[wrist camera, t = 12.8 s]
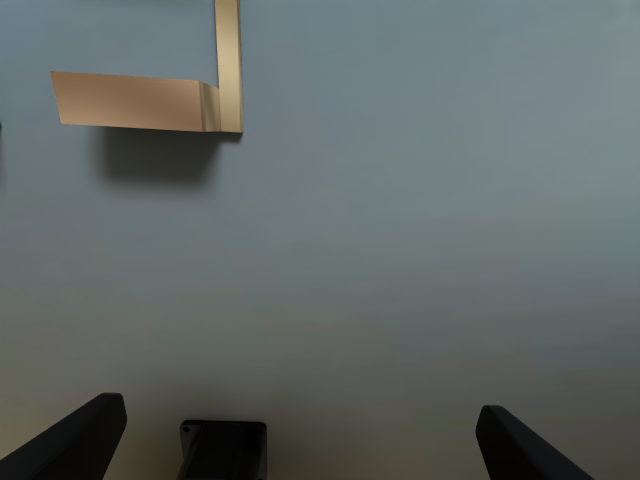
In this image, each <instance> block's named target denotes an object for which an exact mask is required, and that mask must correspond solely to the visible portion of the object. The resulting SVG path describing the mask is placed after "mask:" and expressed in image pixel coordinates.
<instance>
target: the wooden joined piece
mask: <svg viewBox="0 0 640 480" xmlns="http://www.w3.org/2000/svg"><path fill="white" fill-rule="evenodd" d="M215 11H216V32H217V52H218V72H219V89H218V88H215V87H213V86H211V85H208V84H206V83H203V82H201V81H197V80H181V79H165V78H149V77H134V76H118V75H102V74H86V73H71V72H55V71H50V73H51V77H52V82H53V87H54V91H55V96H56V101H57V106H58V110H59V115H60V120H61V124H78V125H96V126H113V127H130V128H147V129H164V130H181V131H198V132H212V131H225V132H243V109H242V72H241V35H240V0H215Z"/></svg>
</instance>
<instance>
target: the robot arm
mask: <svg viewBox="0 0 640 480" xmlns="http://www.w3.org/2000/svg"><path fill="white" fill-rule="evenodd" d="M126 424H127V414H126V409H125V405H124V400H123V396H122V395H121V394H120V393H102V394H100V395H98V396H97V397H95V398H94V399H92V400H91V401H89V402H88V403H86V404H85V405H83V406H82V407H80V408H79V409H77V410H75V411H74V412H72V413H71V414H69V415H68V416H66V417H65V418H63V419H62V420H60V421H59V422H57V423H56V424H54V425H53V426H51V427H50V428H48V429H47V430H45V431H44V432H42V433H41V434H39V435H38V436H36V437H35V438H33V439H32V440H30V441H29V442H27V443H26V444H24V445H23V446H21V447H20V448H18V449H17V450H15V451H14V452H12V453H10V454H9V455H7V456H6V457H4V458H3V459H1V460H0V480H102V479H103V477H104V475H105V473H106V470H107V468H108V466H109V464H110V461H111V459H112V457H113V455H114V452H115V450H116V448H117V446H118V443H119V441H120V439H121V437H122V434H123V432H124V430H125V427H126ZM180 435H181V443H182V450H183V458H184V461H183V464H182V466H181V469H180V471H179V474H178V476H177V479H176V480H266V478H267V426H266V424H264V423H262V422H237V421H202V420H185V421H183V422H182V424H181V427H180ZM476 438H477V441H478V444H479V447H480V450H481V453H482V456H483V459H484V462H485V465H486V468H487V471H488V474H489V477H490V479H491V480H595V479H593V478H592V477H591V476H590V475H588V474H587V473H586V472H585V471H583V470H582V469H581V468H579V467H578V466H577V465H576V464H574V463H573V462H572V461H571V460H569V459H568V458H567V457H566V456H564V455H563V454H562V453H560V452H559V451H558V450H557V449H555V448H554V447H553V446H552V445H550V444H549V443H548V442H547V441H545V440H544V439H543V438H542V437H540V436H539V435H538V434H536V433H535V432H534V431H533V430H531V429H530V428H529V427H528V426H526V425H525V424H524V423H523V422H521V421H520V420H519V419H517V418H516V417H515V416H514V415H512V414H511V413H510V412H509V411H507V410H506V409H505V408H503V407H502V406H499V405H484V406H483V407H482V409H481V412H480V416H479V419H478V422H477V425H476Z"/></svg>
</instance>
